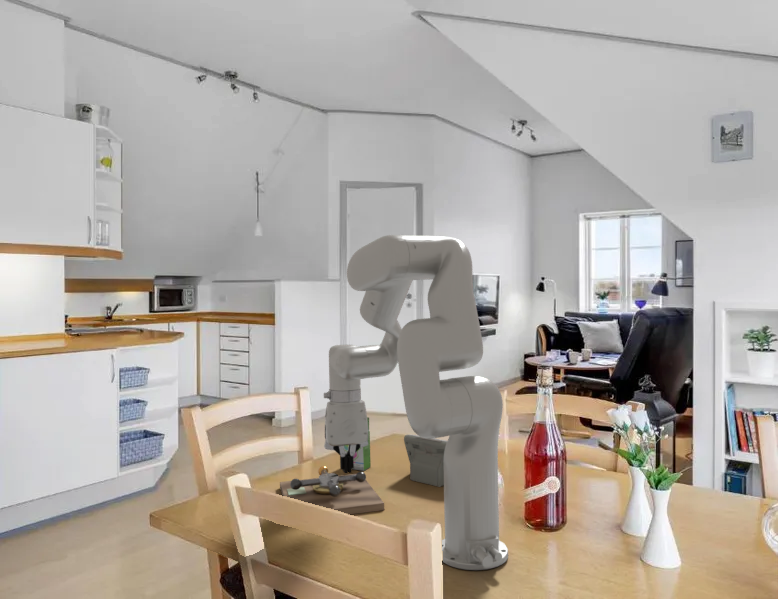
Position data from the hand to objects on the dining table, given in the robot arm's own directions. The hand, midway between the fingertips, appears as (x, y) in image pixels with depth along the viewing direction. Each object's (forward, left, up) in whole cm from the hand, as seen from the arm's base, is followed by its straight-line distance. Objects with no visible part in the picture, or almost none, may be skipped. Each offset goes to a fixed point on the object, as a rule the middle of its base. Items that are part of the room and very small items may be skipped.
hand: (347, 471), depth 146 cm
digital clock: (-3, -22, -4) cm, 22 cm away
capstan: (-8, +6, -2) cm, 10 cm away
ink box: (+13, -5, -4) cm, 15 cm away
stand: (-8, +6, -3) cm, 10 cm away
